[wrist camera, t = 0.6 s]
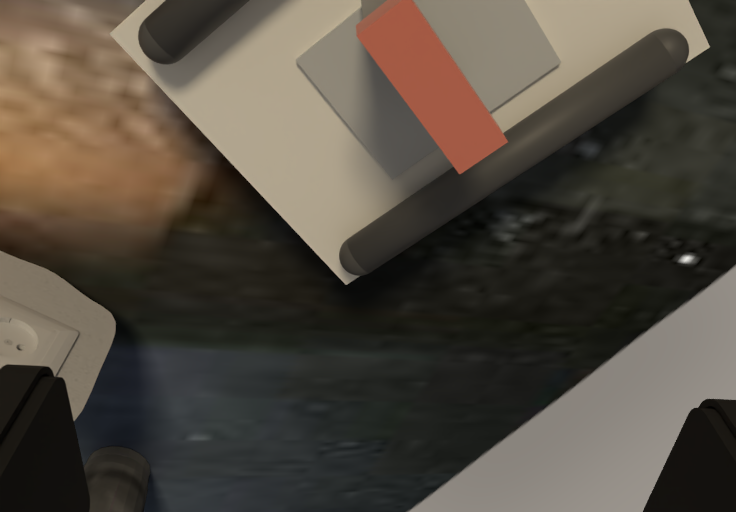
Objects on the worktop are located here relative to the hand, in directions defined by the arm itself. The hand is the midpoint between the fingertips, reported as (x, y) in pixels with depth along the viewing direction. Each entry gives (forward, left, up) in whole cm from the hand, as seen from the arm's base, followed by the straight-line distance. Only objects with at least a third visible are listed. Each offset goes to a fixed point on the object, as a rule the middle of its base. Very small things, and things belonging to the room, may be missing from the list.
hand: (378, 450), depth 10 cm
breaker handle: (-3, +1, -21) cm, 22 cm away
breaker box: (-3, +1, -26) cm, 27 cm away
